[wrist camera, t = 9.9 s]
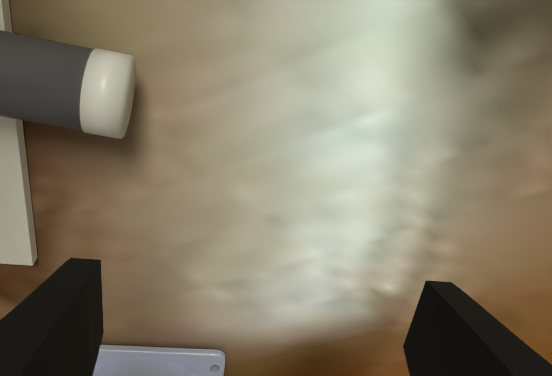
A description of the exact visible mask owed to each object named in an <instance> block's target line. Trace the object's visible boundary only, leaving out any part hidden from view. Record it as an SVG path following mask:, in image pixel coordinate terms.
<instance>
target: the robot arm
mask: <svg viewBox="0 0 552 376" xmlns="http://www.w3.org/2000/svg"><path fill="white" fill-rule="evenodd" d="M102 337H103V308H102V282H101V260H94V259H78V258H70V259H69V260H67V261H66V262H65V263H64V264H63V265H62V266H60V267H59V268H58V269H57V270H56V271H55V272H54V273H53V274H52V275H51V276H50V277H49V278H47V279H46V280H45V281H44V282H43V283H42V284H41V285H40V286H39V287H38V288H37V289H35V290H34V291H33V292H32V293H31V294H30V295H29V296H28V297H27V298H25V299H24V300H23V301H22V302H21V303H20V304H19V305H17V306H16V307H15V308H14V309H13V310H12V311H10V312H9V313H8V314H7V315H6V316H5V317H4V318H2V319H1V320H0V376H224V369H225V354H224V352H222V351H220V350H212V349H189V348H165V347H142V346H118V345H101V341H102ZM403 348H404V352H405V356H406V361H407V365H408V369H409V373H410V376H552V365H551V364H550V363H549V362H548V361H546V360H545V359H544V358H543V357H541V356H540V355H539V354H538V353H536V352H535V351H534V350H533V349H531V348H530V347H529V346H528V345H527V344H525V343H524V342H523V341H522V340H520V339H519V338H518V337H517V336H516V335H514V334H513V333H512V332H511V331H510V330H509V329H507V328H506V327H505V326H504V325H503V324H501V323H500V322H499V321H498V320H497V319H496V318H494V317H493V316H492V315H491V314H490V313H488V312H487V311H486V310H485V309H484V308H483V307H481V306H480V305H479V304H478V303H477V302H475V301H474V300H473V299H472V298H471V297H469V296H468V295H467V294H466V293H465V292H463V291H462V290H461V289H460V288H458V287H457V286H456V285H454V284H453V283H451V282H439V281H426V282H425V285H424V288H423V291H422V294H421V296H420V299H419V302H418V305H417V308H416V311H415V314H414V317H413V320H412V322H411V325H410V328H409V331H408V334H407V337H406V340H405V343H404V345H403ZM213 365H217V366H213Z"/></svg>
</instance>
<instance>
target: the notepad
mask: <svg viewBox="0 0 552 376" xmlns="http://www.w3.org/2000/svg"><path fill="white" fill-rule="evenodd" d="M0 30H2V31H7V32H11V33H12V24H11V15H10V6H9V0H0ZM37 258H38V256H37V247H36V238H35V229H34V220H33V212H32V203H31V194H30V185H29V176H28V167H27V158H26V149H25V140H24V131H23V122H22V120H18V119H12V118H7V117H1V116H0V264H15V265H32V266H33V264H34V263H35V261H36V259H37Z"/></svg>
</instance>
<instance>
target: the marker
mask: <svg viewBox="0 0 552 376" xmlns="http://www.w3.org/2000/svg"><path fill="white" fill-rule="evenodd" d="M135 81H136V61H135V57H134V56H132V55H127V54H122V53H118V52H113V51H108V50H103V49H98V48H95V49H90V48H85V47H80V46H75V45H71V44H66V43H61V42H56V41H51V40H46V39H41V38H36V37H31V36H26V35H21V34H16V33H11V32H7V31H2V30H0V116H1V117H7V118H12V119H18V120H24V121H29V122H35V123H41V124H47V125H52V126H58V127H64V128H69V129H75V130H81V131H83V132H84V133H90V134H95V135H101V136H107V137H112V138H118V139H122V138H123V137H124V135H125V133H126V130H127V127H128V124H129V120H130V116H131V111H132V105H133V99H134V92H135Z"/></svg>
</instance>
